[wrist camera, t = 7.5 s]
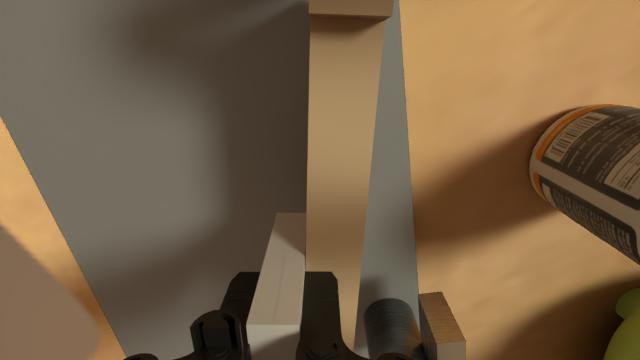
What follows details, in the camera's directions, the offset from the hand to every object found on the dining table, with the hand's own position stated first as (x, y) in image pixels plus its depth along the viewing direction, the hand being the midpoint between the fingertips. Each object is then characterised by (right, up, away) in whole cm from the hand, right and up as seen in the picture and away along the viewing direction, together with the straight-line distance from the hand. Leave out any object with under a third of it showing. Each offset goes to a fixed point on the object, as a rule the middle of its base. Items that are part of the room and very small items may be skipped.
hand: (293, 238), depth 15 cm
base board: (-4, +2, +3) cm, 5 cm away
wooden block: (+2, +3, +1) cm, 4 cm away
